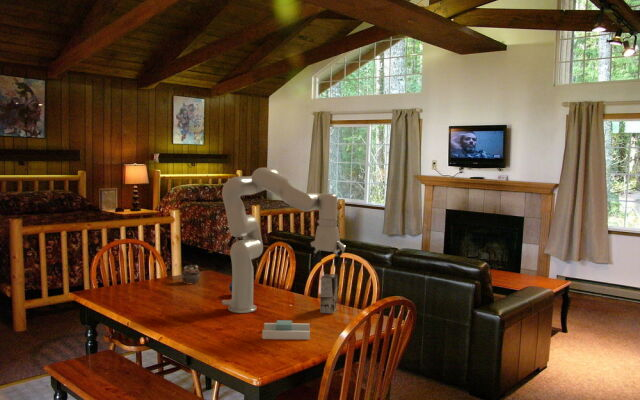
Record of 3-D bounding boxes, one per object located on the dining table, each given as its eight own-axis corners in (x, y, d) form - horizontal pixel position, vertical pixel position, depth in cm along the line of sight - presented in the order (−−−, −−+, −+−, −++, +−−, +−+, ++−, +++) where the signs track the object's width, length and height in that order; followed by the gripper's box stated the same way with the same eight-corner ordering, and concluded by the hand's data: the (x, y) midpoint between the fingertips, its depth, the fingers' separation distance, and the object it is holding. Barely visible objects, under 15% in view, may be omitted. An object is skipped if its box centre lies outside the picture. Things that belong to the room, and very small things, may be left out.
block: (275, 337, 207) (276, 324, 207) (276, 332, 213) (276, 320, 213) (291, 337, 208) (291, 325, 207) (291, 332, 214) (292, 320, 213)
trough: (262, 338, 205) (262, 331, 205) (264, 330, 215) (264, 323, 215) (309, 339, 206) (310, 331, 205) (309, 330, 216) (309, 323, 216)
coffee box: (333, 314, 241) (334, 278, 240) (319, 312, 242) (320, 277, 241) (337, 308, 250) (338, 274, 249) (323, 307, 251) (324, 273, 250)
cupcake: (202, 281, 299) (202, 263, 298) (194, 285, 290) (194, 266, 289) (186, 280, 301) (186, 262, 301) (178, 284, 292) (178, 265, 291)
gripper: (306, 222, 228) (305, 262, 229) (340, 225, 217) (339, 267, 219) (316, 221, 234) (316, 260, 235) (350, 224, 223) (349, 265, 225)
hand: (327, 264), depth 227 cm, fingers open, 9 cm apart
